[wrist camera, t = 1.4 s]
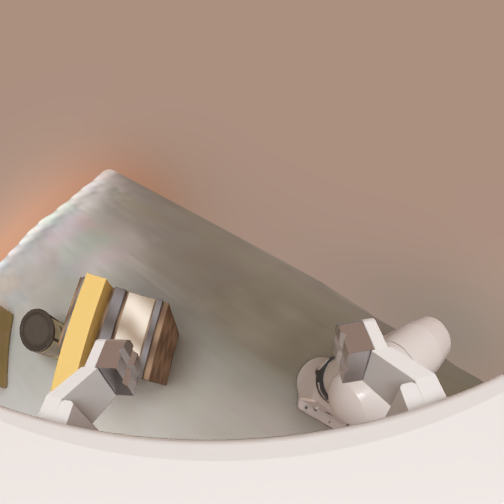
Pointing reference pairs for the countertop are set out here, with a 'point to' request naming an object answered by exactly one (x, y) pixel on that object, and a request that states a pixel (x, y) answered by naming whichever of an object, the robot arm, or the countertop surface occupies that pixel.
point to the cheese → (4, 343)
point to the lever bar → (82, 327)
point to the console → (137, 329)
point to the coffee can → (41, 333)
